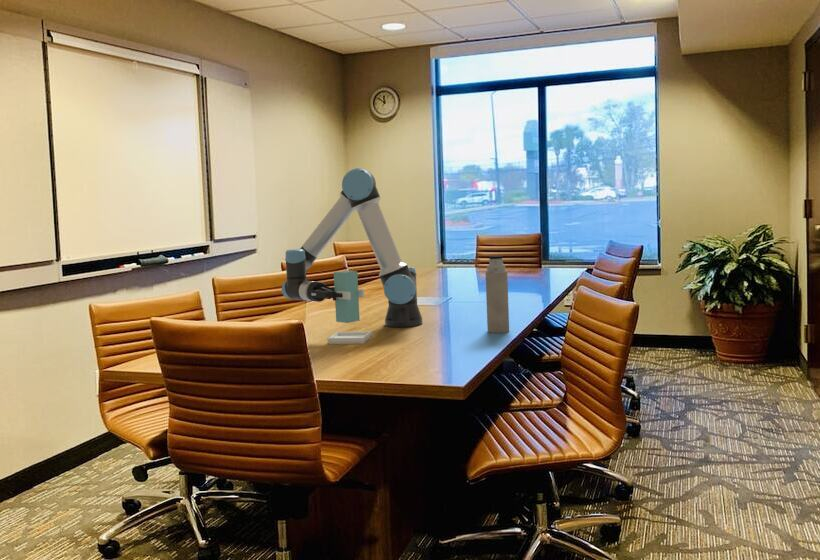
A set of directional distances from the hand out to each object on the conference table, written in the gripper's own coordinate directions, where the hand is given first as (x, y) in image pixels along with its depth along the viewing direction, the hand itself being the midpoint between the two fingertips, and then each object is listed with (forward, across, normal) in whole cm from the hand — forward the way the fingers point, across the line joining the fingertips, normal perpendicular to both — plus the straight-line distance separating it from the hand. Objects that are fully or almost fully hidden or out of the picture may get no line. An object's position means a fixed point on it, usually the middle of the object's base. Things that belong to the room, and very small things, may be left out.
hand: (356, 294), depth 266 cm
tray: (-5, 0, -17) cm, 18 cm away
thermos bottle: (+33, -40, -17) cm, 55 cm away
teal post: (-5, 0, -10) cm, 11 cm away
